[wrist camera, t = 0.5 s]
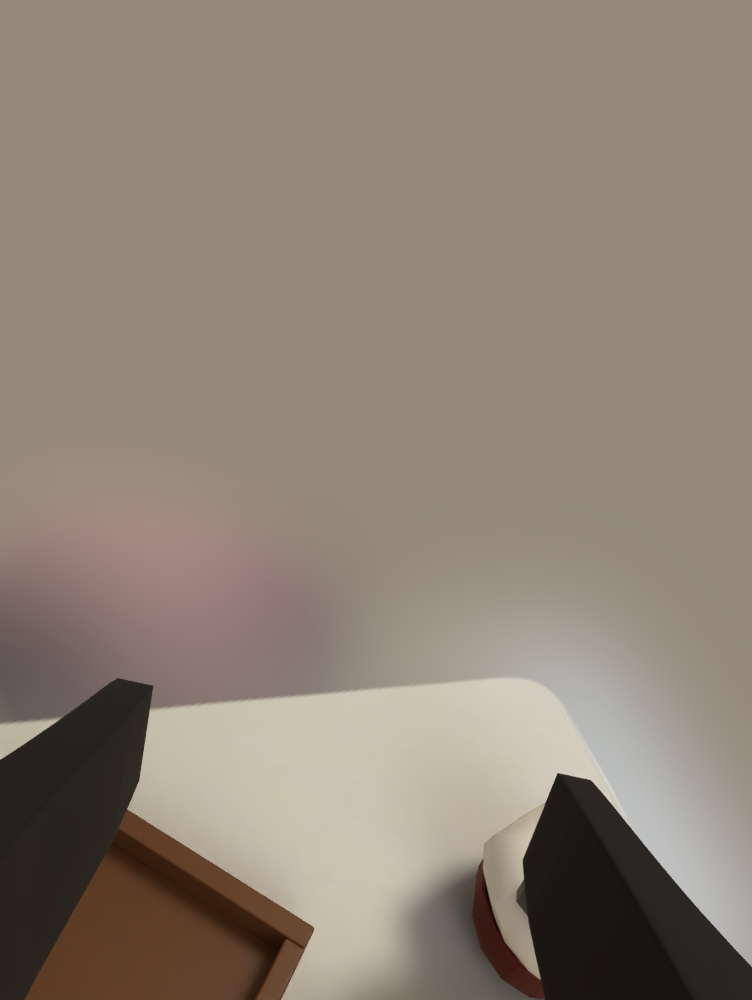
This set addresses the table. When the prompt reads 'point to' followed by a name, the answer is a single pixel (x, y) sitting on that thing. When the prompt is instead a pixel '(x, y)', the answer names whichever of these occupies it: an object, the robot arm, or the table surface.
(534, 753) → the table surface
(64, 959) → the brown tray
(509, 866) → the cocoa
